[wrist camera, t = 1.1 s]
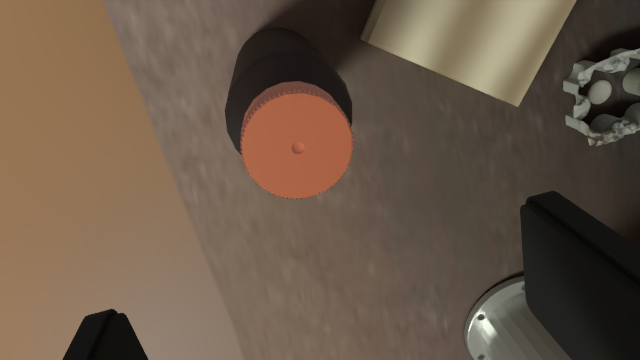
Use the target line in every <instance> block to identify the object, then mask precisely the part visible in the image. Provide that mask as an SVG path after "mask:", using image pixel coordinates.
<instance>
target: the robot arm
mask: <svg viewBox="0 0 640 360" xmlns="http://www.w3.org/2000/svg"><path fill="white" fill-rule="evenodd" d="M520 217H521V233H522V249H523V265H524V276H521V277H517V278H513V279H510V280H508V281H505V282H503V283H501V284H499V285H497V286H496V287H494V288H492V289H491V290H490V291H489V292H487V293H486V294H485V295H483V297H482V298H481V299H480V300H479V301H478V302H477V303H476V304H475V306H474V307H473V309H472V310H471V312H470V314H469V316H468V319H467V321H466V325H465V330H464V337H465V342H466V346H467V348H468V350H469V352H470V354H471V355H472V357H473V358H474V360H640V249H639V248H638V247H637V246H635V245H634V244H632V243H631V242H629V241H628V240H626V239H625V238H623V237H622V236H620V235H619V234H617V233H616V232H615V231H613V230H612V229H610V228H609V227H607V226H606V225H604V224H603V223H601V222H600V221H598V220H597V219H596V218H594V217H593V216H591V215H590V214H588V213H587V212H585V211H584V210H582V209H581V208H579V207H578V206H576V205H575V204H574V203H572V202H571V201H569V200H568V199H566V198H565V197H563V196H562V195H560V194H559V193H557V192H555V191H549V192H546V193H542V194H538V195H535V196H531V197H529V198H527V201H526V204H525V205H522V206H521V209H520ZM63 360H148V358H147V356H146V354H145V352H144V350H143V348H142V346H141V344H140V342H139V340H138V338H137V336H136V334H135V332H134V330H133V328H132V326H131V324H130V322H129V320H128V318H127V316H126V315H125V314H124V313H119V314H118V313H117V311H115V310H114V309H109V310H106V311H102V312H99V313H95V314H91V315H88V316H86V317H85V318H84V319H83V321H82V323H81V325H80V327H79V329H78V331H77V332H76V335H75V337H74V338H73V340H72V342H71V344H70V346H69V348H68V350H67V352H66V354H65V356H64V358H63Z"/></svg>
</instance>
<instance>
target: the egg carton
mask: <svg viewBox="0 0 640 360" xmlns="http://www.w3.org/2000/svg"><path fill="white" fill-rule="evenodd" d="M629 57H631V58H636V59H640V49H636V50H628V49H622V48H620V49H617V50H613V51H611V53H610V56H609V58H608V59H606V60H603V61H601V62H599V63H594V62H591V61H586V60H583V61H579V62H577V63H575V64H574V69H573V71H572V73H571V75H570V76H569V77H568V78H566V79H565V80H564V82H563V90H564V91H565V92H569V93H571V94H575V96H576V105H574V109H573V110H572V111H571V112H570V113H569V114H567V115H566V125H568V126H570V127H573V128H575V129H577V130H579V131H580V132H582V133H583V134H585V135H587V138H588V141H589V145H590V146H593V145H595V146H598V145H601V144H602V145H605V144H608V143H610V142H614V141H617V140H619V139H621V138H623V135H627V134H632V133H636V131H638V130H640V103H635V104H632V105H631V106H630V107H629V108H627V110H626V112H625V114H624V116H623V117H621V118H617V117H614V116H611V115H607V114H601V115H599V116H597V117H596V118H595V119H594V120H593V121H592V123H591V125H590V128H589V126H588V125H587V124H586V123H585V122H583V121H581V119H583V118H584V117H585V116H586V115H587V114H588V111H589V109H590V105H591V104H590V102H591V103H593V104H601V103H603V102H604V101H606V100H607V99H608V97H609V96H610V94H611V90H612V88H611V84H610V83H609V82H608V81H606V80H599V81H597V82H595V83H594V84H593V85H592V86H591V87H590V89H589V91H588V98H587V97H585V96H583V95H580V94H578V89H579V87H583V86H584V85H585V84H586V83H588V82H589V81H590V79H591V76H592V73H593V71H594V70H599V71H603V72H606V73H614V72H617V71H621V70H622V71H624V70H625V69H626V68H627V66H628V64H629V63H630V60H629ZM623 88H624V90H625V91H626V92H628V93H631V94H635V95H638V96H640V68H634V69H632V70H631V71H629V72H628V73H627V75H626V76H625V78H624V80H623ZM588 99H589V100H588Z"/></svg>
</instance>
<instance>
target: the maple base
mask: <svg viewBox="0 0 640 360" xmlns="http://www.w3.org/2000/svg"><path fill="white" fill-rule="evenodd" d="M575 2H576V0H376V1H375V3H374V6H373V8H372V10H371V13H370V15H369V18H368V20H367V22H366V25H365V27H364V30H363V32H362V34H361V37H360V39H361V40H363V41H365V42H367V43H369V44H371V45H374V46H376V47H378V48H381V49H383V50H386V51H388V52H390V53H393V54H395V55H397V56H400V57H402V58H404V59H407V60H409V61H411V62H414V63H416V64H418V65H421V66H423V67H425V68H428V69H430V70H432V71H435V72H437V73H440V74H442V75H444V76H447V77H449V78H451V79H454V80H456V81H458V82H461V83H463V84H465V85H468V86H470V87H472V88H475V89H477V90H479V91H482V92H484V93H486V94H489V95H491V96H493V97H496V98H498V99H501V100H503V101H505V102H508V103H510V104H512V105H515V106H517V107H518V106H519V104H520V102H521V100H522V99H523V97H524V95H525V93H526V91H527V90H528V88H529V86H530V84H531V82H532V80H533V79H534V77H535V75H536V73H537V71H538V70H539V68H540V66H541V64H542V62H543V60H544V59H545V57H546V55H547V53H548V51H549V50H550V48H551V46H552V44H553V42H554V40H555V39H556V37H557V35H558V33H559V31H560V30H561V28H562V26H563V24H564V22H565V20H566V19H567V17H568V15H569V13H570V11H571V9H572V8H573V6H574V4H575Z"/></svg>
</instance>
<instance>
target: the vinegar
mask: <svg viewBox="0 0 640 360" xmlns="http://www.w3.org/2000/svg"><path fill="white" fill-rule="evenodd" d="M225 117H226V125H227V132H228V134H229V136H230V138H231V140H232V142H233V144H234V146H235V148H236V150H237V151H238V152H239V153H240V154H241V157H243V162H244V166H246V170H249V171H248V174H250V175H251V178H254V182H255V181H257V185H259V184H260V185H261V188H265V191H266V190H269V193H270V192H272V193H273V195H274V194H276V195H278V196H279V195H280V196H282V198H283V197H284V196H285V197H287V199H288V197H290V198H291V199H293V198H296V199H297V198H301V199H302V197H305V198H307V197H311V196H312V195H314V196H316V195H315V194H318V193H319V194H320V192H324V191H325V190H326V189H327V190H328V188H329V187H332V185H333V184H336V183H335V182H337V181H339V178H340V177H341V178H342V176H341V175H342V174H345V172H344V171H345V170H347V167H348V166H349V161H350V162H351V160H350V157H353V156H352V155H351V154H352V153H353V150H352V148H354V146H353V145H352V144H353V143H354V142H353V140H352V139H354V137H353V136H352V134H353V132H352V131H351V130H352V128H351V125H352V101H351V99H350V96H349V93H348V90H347V87H346V84H345V82H344V81H343V80H342V79H341V77H340V76H339V75H338V73H337V72H336V71H335V70H334V68H333V67H332V66H331V65H330V64H329V63H328V62H327V61H326V60H325V59H324V58H323V57H322V56H321V55H320V54H319V52H318V51H317V50H316V49H315V48H314V47H313V46H312V45H311V44H310V43H309V42H308V41H307V40H306V39H305V38H303V37H302V36H300V35H299V34H297V33H296V32H294V31H290V30H287V29H283V28H272V29H266V30H264V31H261V32H259V33H256V34H254V35H253V36H252V37H251V38H250V39H249V40H248V41H246V42H245V44H244V45H243V47H242V49H241V50H240V52H239V54H238V57H237V61H236V65H235V69H234V73H233V77H232V81H231V85H230V89H229V93H228V98H227V103H226V108H225Z"/></svg>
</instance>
